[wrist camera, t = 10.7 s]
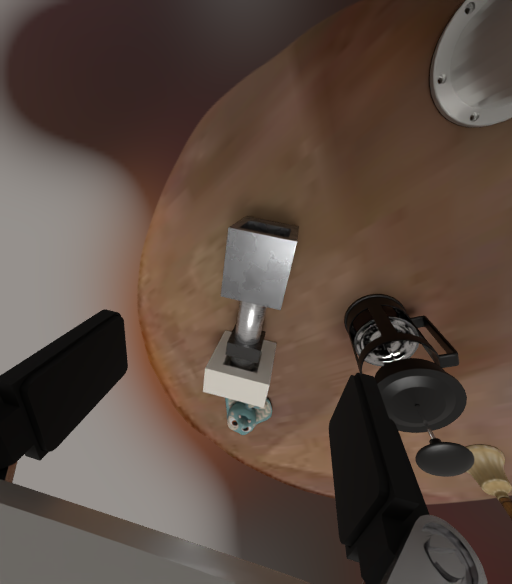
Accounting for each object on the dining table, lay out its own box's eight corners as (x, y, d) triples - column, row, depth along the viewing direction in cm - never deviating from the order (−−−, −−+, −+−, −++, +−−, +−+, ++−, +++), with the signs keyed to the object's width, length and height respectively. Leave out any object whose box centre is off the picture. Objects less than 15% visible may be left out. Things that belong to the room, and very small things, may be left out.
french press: (347, 348, 44) (385, 499, 23) (334, 303, 40) (364, 431, 20) (421, 334, 40) (545, 499, 19) (413, 283, 37) (550, 415, 16)
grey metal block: (246, 216, 37) (228, 227, 28) (298, 226, 36) (297, 241, 27) (239, 270, 41) (220, 296, 32) (285, 281, 40) (280, 310, 31)
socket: (225, 330, 47) (205, 368, 37) (276, 342, 46) (269, 385, 36) (222, 350, 49) (203, 391, 39) (271, 363, 48) (263, 407, 38)
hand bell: (464, 440, 47) (534, 552, 33) (512, 450, 46) (605, 570, 32) (446, 465, 51) (502, 577, 37) (490, 475, 50) (565, 594, 36)
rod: (245, 261, 37) (236, 273, 32) (279, 269, 36) (275, 282, 31) (230, 359, 45) (221, 379, 40) (258, 366, 44) (252, 387, 40)
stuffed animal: (285, 414, 46) (255, 456, 49) (284, 389, 52) (258, 428, 56) (234, 387, 45) (207, 432, 48) (240, 366, 52) (216, 406, 55)
